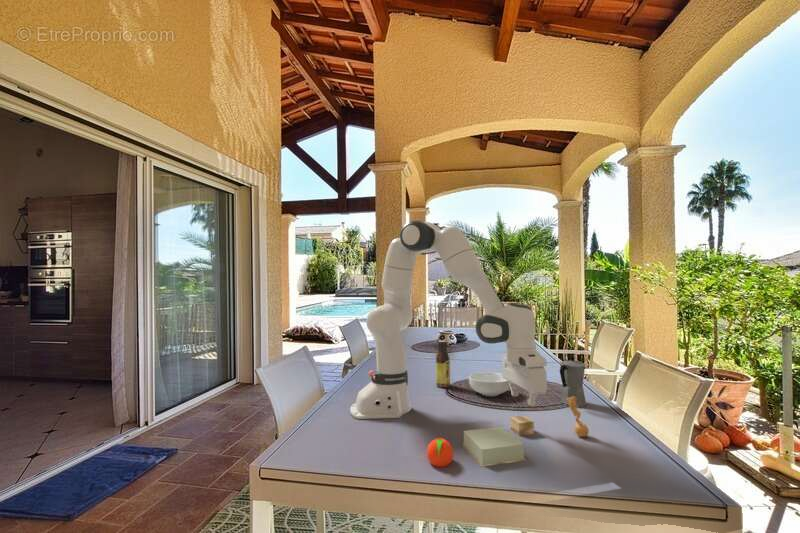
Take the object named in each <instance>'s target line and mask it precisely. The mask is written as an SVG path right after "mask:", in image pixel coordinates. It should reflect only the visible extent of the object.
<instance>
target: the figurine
mask: <svg viewBox="0 0 800 533" xmlns="http://www.w3.org/2000/svg"><path fill="white" fill-rule="evenodd" d="M575 400H576V397H575V396H573V397H569V398H567V403H568V404H569V406H568V407H569V409H570V410H571V412H572V414H573V416H574V417H575V422H576V424H575V425H574V427H573V429H574V430H573V431H574V432H575V435H577V436H578V437H579V438H586V437H587V436H588V435H589V432H590V431H589V427H588V426H587V425H586V424H585V423H583V422H582V421H580V418H581V412H580V411H579V410H578V409H579V407H578V406H577V405H576V402H575ZM575 405H576V407H575Z"/></svg>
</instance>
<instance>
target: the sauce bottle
mask: <svg viewBox="0 0 800 533" xmlns="http://www.w3.org/2000/svg"><path fill="white" fill-rule="evenodd" d="M437 345H438V346H437V348H438V349H437V351H438V352H437V353H436V354H435V386H436V387H438V388H444V389H445V388H448V387H450V386H451V359H450V356H449V354H448V350H447V349H448V348H447V346H448V341H446V340H438V341H437Z"/></svg>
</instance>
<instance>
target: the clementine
mask: <svg viewBox="0 0 800 533" xmlns="http://www.w3.org/2000/svg"><path fill="white" fill-rule="evenodd" d="M453 449H454V448H453V447H452V444H451V443H450V442H449V441H448V440H446V439H445V438H441V437H439V438H435V439H433V440H431V441H430V442H429V444H428V445H427V449H426V457H427V459H428V462H430V464H431V465H432V466H435V467H439V468H441V467H442V468H444V467H448V466H449V465H450V464H451V462H452V460H453V458H454V450H453Z"/></svg>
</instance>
